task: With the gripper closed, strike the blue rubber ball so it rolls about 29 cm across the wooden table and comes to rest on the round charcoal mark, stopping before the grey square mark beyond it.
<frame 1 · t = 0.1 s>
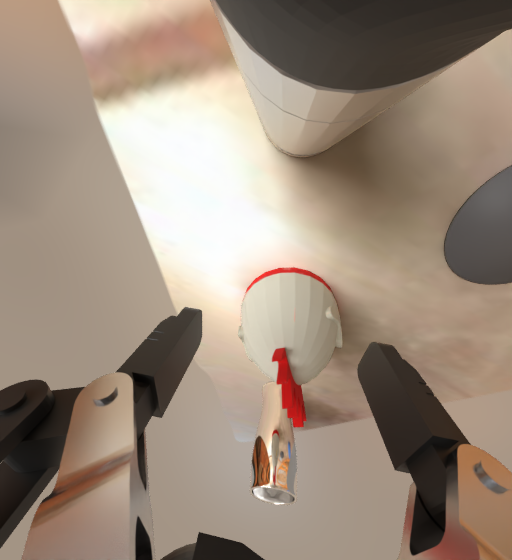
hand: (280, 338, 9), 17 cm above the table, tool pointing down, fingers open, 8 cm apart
kitchen timer: (287, 307, 29), on the table
beer glass: (276, 389, 39), on the table
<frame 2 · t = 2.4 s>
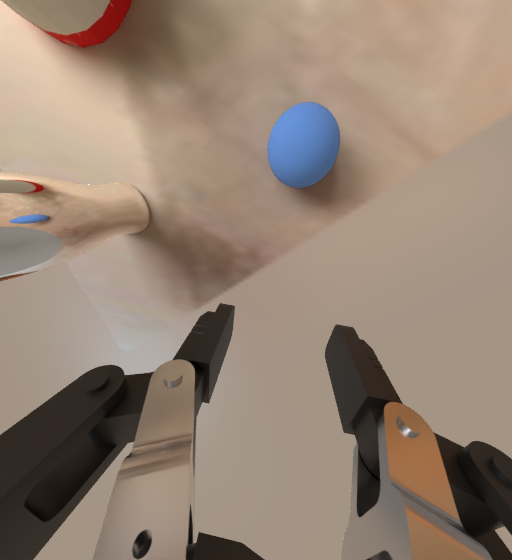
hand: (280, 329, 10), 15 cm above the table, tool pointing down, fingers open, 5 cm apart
ball: (302, 149, 16), on the table
beer glass: (128, 208, 24), on the table
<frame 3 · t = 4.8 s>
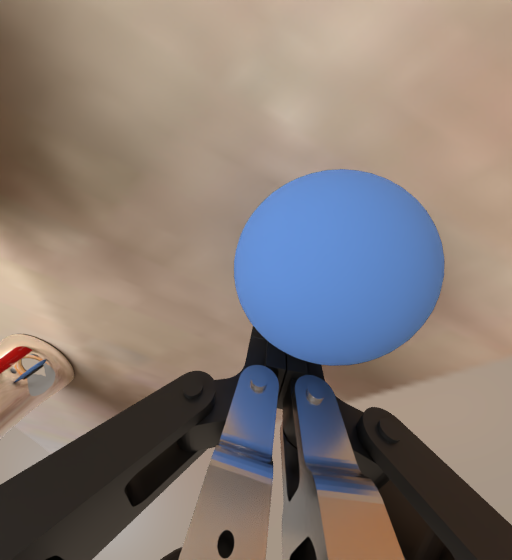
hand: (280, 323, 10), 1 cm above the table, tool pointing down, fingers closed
ball: (321, 270, 7), on the table
beer glass: (43, 358, 17), on the table
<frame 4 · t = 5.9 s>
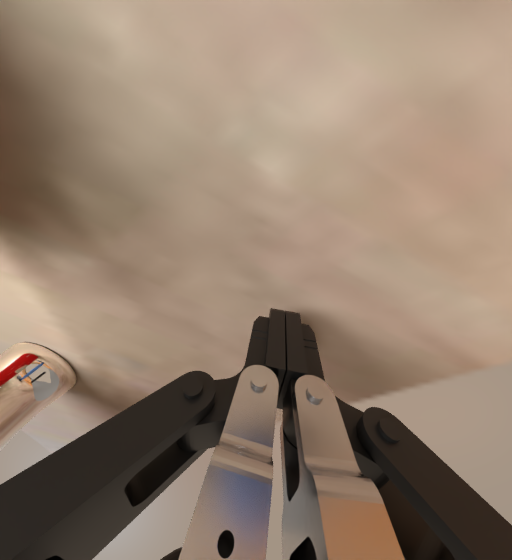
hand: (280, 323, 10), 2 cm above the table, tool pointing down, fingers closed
beer glass: (47, 364, 18), on the table
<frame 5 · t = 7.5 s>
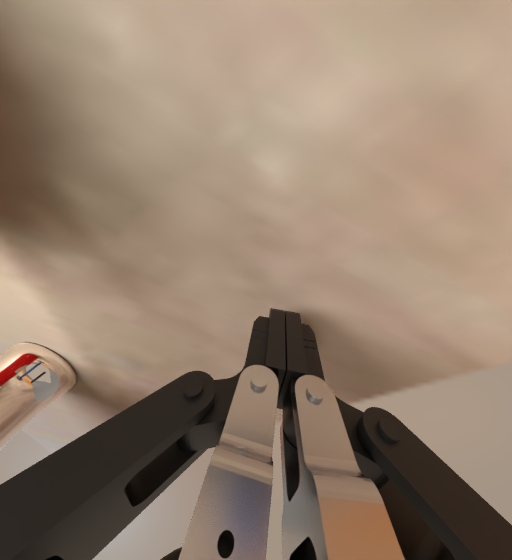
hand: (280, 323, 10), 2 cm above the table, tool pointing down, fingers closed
beer glass: (47, 364, 18), on the table
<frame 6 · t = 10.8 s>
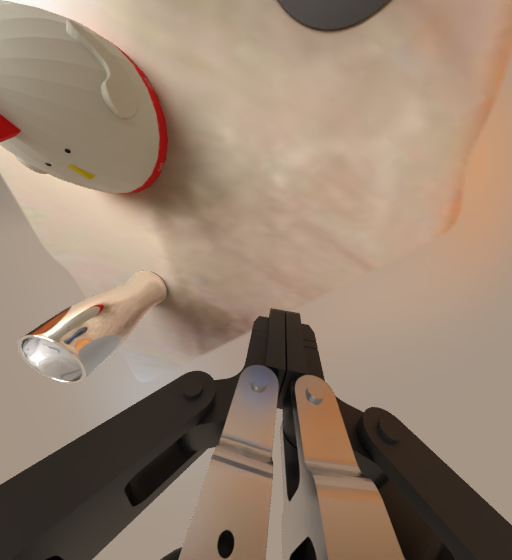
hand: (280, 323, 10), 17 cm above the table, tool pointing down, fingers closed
kitchen timer: (111, 128, 22), on the table
beer glass: (150, 286, 31), on the table
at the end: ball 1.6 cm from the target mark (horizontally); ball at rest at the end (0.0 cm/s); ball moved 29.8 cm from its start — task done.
